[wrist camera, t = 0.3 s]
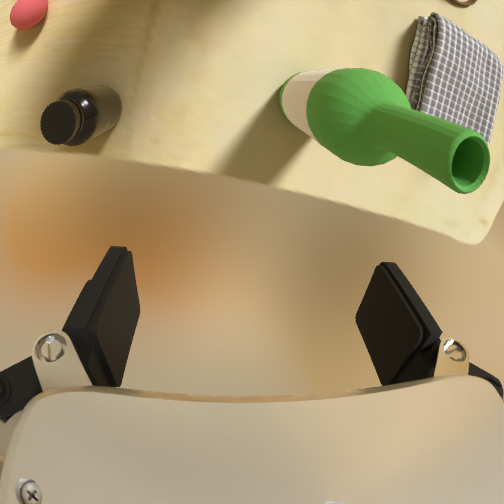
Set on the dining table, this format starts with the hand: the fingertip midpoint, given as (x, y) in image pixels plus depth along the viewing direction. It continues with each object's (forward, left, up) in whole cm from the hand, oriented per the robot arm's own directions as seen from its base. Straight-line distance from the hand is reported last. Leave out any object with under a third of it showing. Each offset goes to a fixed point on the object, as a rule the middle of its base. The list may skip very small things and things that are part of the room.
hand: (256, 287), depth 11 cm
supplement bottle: (+10, -17, -31) cm, 36 cm away
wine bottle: (-10, +2, -31) cm, 33 cm away
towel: (-31, +13, -31) cm, 46 cm away
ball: (+5, -38, -28) cm, 47 cm away
